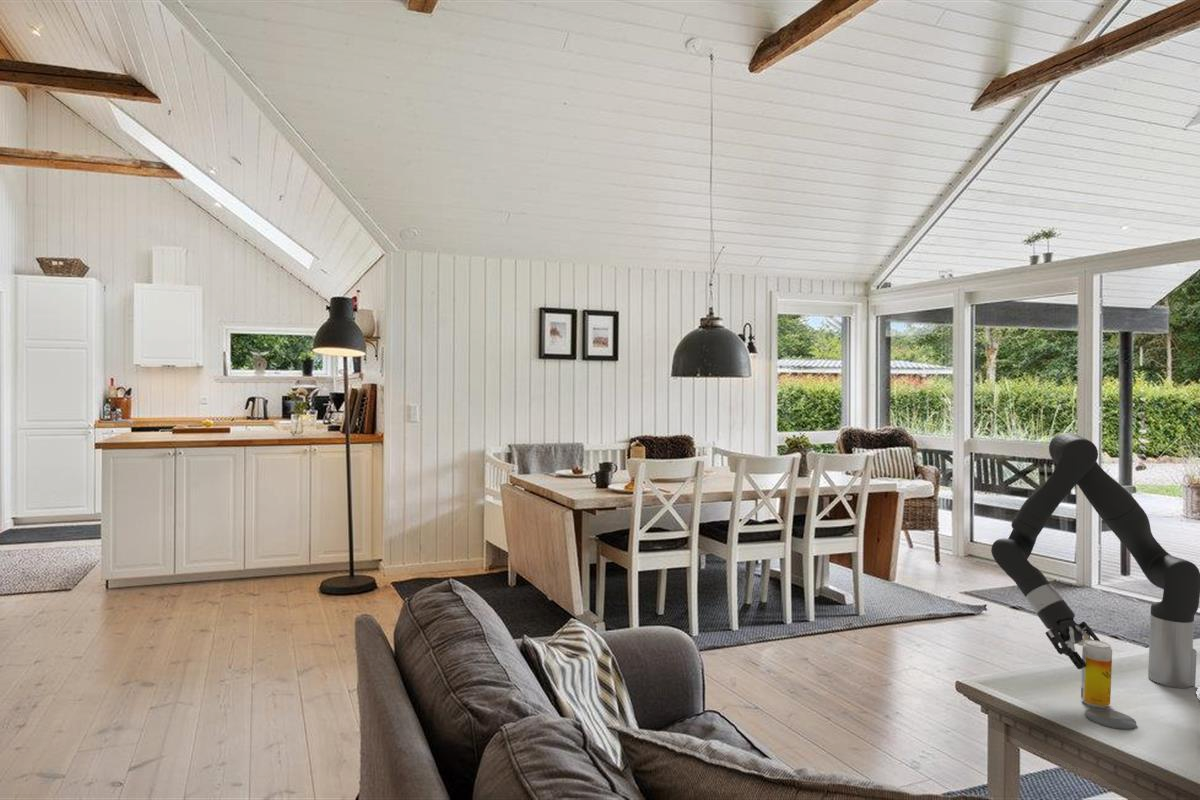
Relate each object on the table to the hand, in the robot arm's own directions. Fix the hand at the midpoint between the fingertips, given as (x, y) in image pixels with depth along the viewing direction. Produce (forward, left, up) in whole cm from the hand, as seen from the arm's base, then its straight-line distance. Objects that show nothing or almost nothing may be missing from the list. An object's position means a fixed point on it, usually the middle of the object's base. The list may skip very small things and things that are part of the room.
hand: (1093, 665), depth 187 cm
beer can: (0, +1, -9) cm, 10 cm away
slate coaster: (+2, +10, -9) cm, 13 cm away
